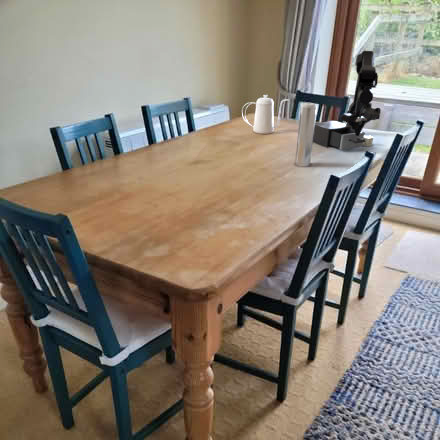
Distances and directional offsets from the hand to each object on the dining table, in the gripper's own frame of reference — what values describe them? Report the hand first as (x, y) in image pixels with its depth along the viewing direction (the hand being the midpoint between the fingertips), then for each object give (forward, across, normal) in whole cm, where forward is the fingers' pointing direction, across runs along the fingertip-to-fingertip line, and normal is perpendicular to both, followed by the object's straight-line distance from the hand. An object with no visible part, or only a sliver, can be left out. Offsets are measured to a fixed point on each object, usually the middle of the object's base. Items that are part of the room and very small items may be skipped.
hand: (357, 135), depth 213 cm
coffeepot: (+7, -18, +52) cm, 55 cm away
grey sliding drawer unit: (+7, 0, +19) cm, 20 cm away
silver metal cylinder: (+8, -35, -5) cm, 36 cm away
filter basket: (+7, +14, +7) cm, 17 cm away
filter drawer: (+6, 0, +6) cm, 9 cm away
